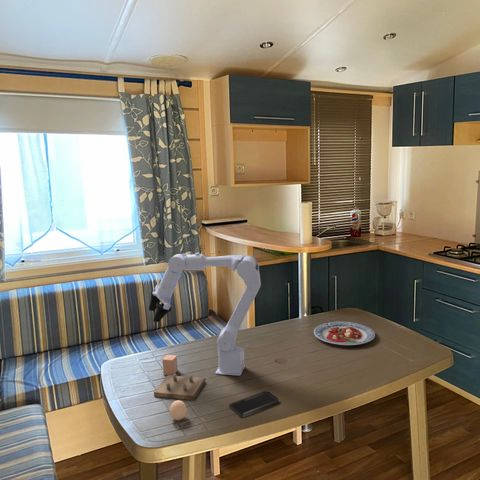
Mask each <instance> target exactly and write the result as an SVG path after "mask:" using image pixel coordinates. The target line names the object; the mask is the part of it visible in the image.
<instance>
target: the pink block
mask: <svg viewBox="0 0 480 480" xmlns="http://www.w3.org/2000/svg"><path fill="white" fill-rule="evenodd" d="M177 357H178V356H177V355H173V354H166V355H165V356H164V357H163V358H162V369H163V376H164V375H165V376H168V375H171V376H173V374H176V373H177V372H178V370H179V369H178V358H177Z"/></svg>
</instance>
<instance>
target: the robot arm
mask: <svg viewBox="0 0 480 480" xmlns="http://www.w3.org/2000/svg"><path fill="white" fill-rule="evenodd" d="M207 267H228V268H229V269H230V270H231V271H233V272H235V271H236V273H237V275H238V276H239V277H240V278H241V279H242V281H243V282H244V285H245V289H244V290H243V293H242V295H241V297H240V299H239V300H238V302H237V304H236V307H235V309H234V311H233V313H232V314H231V316H230V318H229V320H228V321H227V324H226V325H225V326H224V327H222V329H221V330H220V333H219V335H218V337H217V339H216V341H215V342H216V346H217V360H218V363H217V364H218V366H217V369H216V370H215V375H224V376H226V375H227V376H236V377H237V376H239V377H240V376H241V375H242V373H243V371H244V369H245V367H246V365H245V349H244V348H242V347H239V346H238V345H237V343H236V339H237V336H238V331H239V329H240V328H241V325H242V324H243V322H244V320H245V317H246V316H247V314H248V311H250V308H251V307H252V304H253V302H254V300H255V298H256V296H257V294H258V292H259V291H260V288H261V285H262V282H261V274H260V265H259V263H258V262H257V259H256V258H255V257H254V256H253V255H250V254H249V255H248V254H246V255H244V254H234V255H233V254H231V255H221V256H220V255H219V256H208V257H207V256H206V255H205V254H204V253H200V252H195V253H194V254H186V253H182V254H181V253H177V254H174V255H173V256H172V257H171V258H170V259H169V260H168V262H167V267H166V270H165V271H164V274H163V276H162V278H161V280H160V282H159V285H158V284H156V285H155V287H154V291H153V290H150V301H149V306H148V310H149V311H152V312H155V313H154V317H153V322H156V323H160V321H161V320H162V319H163V318H164V316H166V315H167V314H168V313H169V312H171V311H172V307H171V299H172V296H173V293H174V291H175V289H176V287H177V284H178V283H179V280H180V278H181V274H182V272H183V270H184V271H187V272H188V271H204V270H205V269H206V268H207Z"/></svg>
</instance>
